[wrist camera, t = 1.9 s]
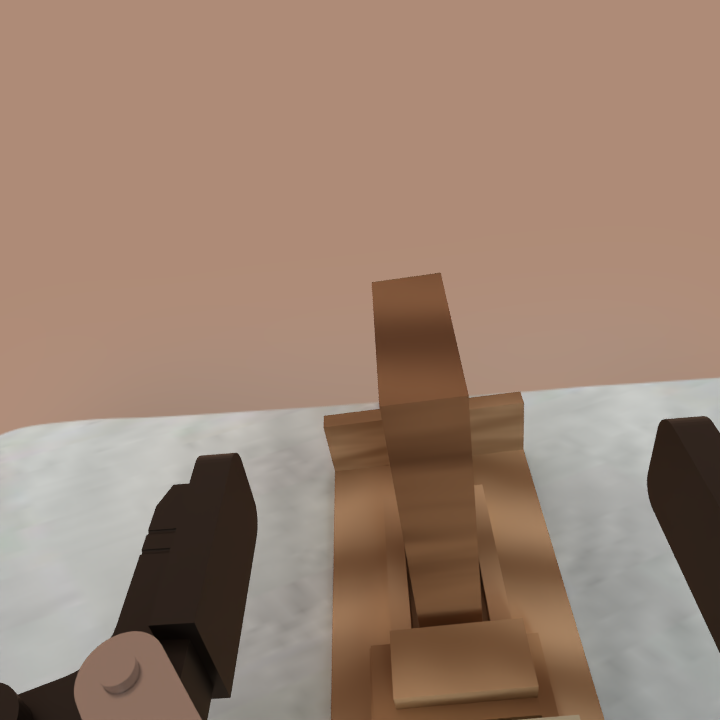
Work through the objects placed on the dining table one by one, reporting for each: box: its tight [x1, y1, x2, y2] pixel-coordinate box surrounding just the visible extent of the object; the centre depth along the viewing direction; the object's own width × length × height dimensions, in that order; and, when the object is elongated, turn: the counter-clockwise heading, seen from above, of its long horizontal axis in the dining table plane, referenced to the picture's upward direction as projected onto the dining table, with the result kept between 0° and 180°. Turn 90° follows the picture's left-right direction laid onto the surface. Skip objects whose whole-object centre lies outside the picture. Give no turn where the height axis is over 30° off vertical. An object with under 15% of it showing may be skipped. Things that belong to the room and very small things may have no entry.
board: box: [372, 273, 483, 628], centre depth 30 cm, size 8×3×16 cm, turn 1°
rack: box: [324, 392, 604, 720], centre depth 34 cm, size 17×12×5 cm
